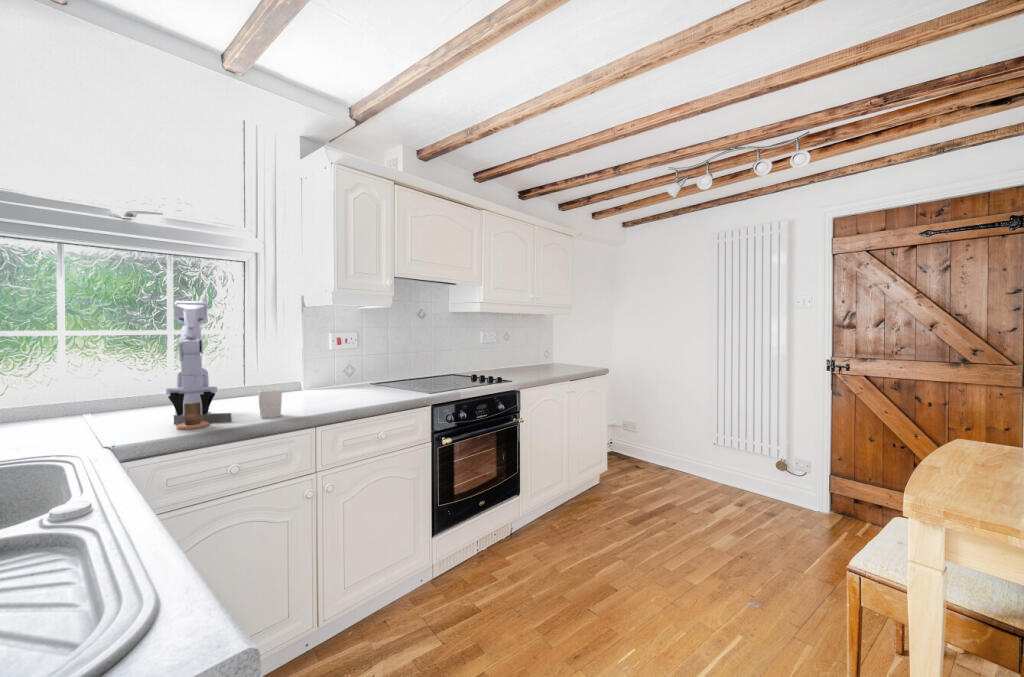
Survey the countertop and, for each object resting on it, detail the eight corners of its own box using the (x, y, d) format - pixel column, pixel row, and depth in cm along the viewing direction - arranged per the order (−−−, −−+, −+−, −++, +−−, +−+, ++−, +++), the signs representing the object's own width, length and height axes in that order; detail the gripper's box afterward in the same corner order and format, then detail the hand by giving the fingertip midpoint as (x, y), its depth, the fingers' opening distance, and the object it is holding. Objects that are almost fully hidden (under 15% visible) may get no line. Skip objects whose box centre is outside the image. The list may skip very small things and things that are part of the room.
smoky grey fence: (173, 424, 153) (173, 415, 153) (175, 423, 154) (175, 415, 154) (230, 421, 156) (230, 413, 156) (231, 421, 157) (231, 412, 157)
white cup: (253, 417, 163) (253, 390, 163) (272, 413, 170) (272, 388, 170) (268, 419, 160) (267, 392, 160) (287, 415, 167) (286, 389, 167)
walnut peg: (181, 424, 147) (180, 404, 147) (193, 422, 151) (193, 401, 151) (192, 425, 146) (191, 404, 146) (204, 422, 150) (203, 402, 150)
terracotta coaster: (169, 429, 145) (169, 426, 145) (194, 423, 154) (194, 420, 154) (191, 430, 143) (191, 427, 143) (215, 424, 152) (215, 421, 152)
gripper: (160, 376, 143) (161, 417, 143) (209, 375, 145) (210, 415, 146) (173, 374, 150) (174, 413, 150) (219, 373, 152) (220, 412, 153)
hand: (192, 414), depth 148 cm, fingers open, 7 cm apart
